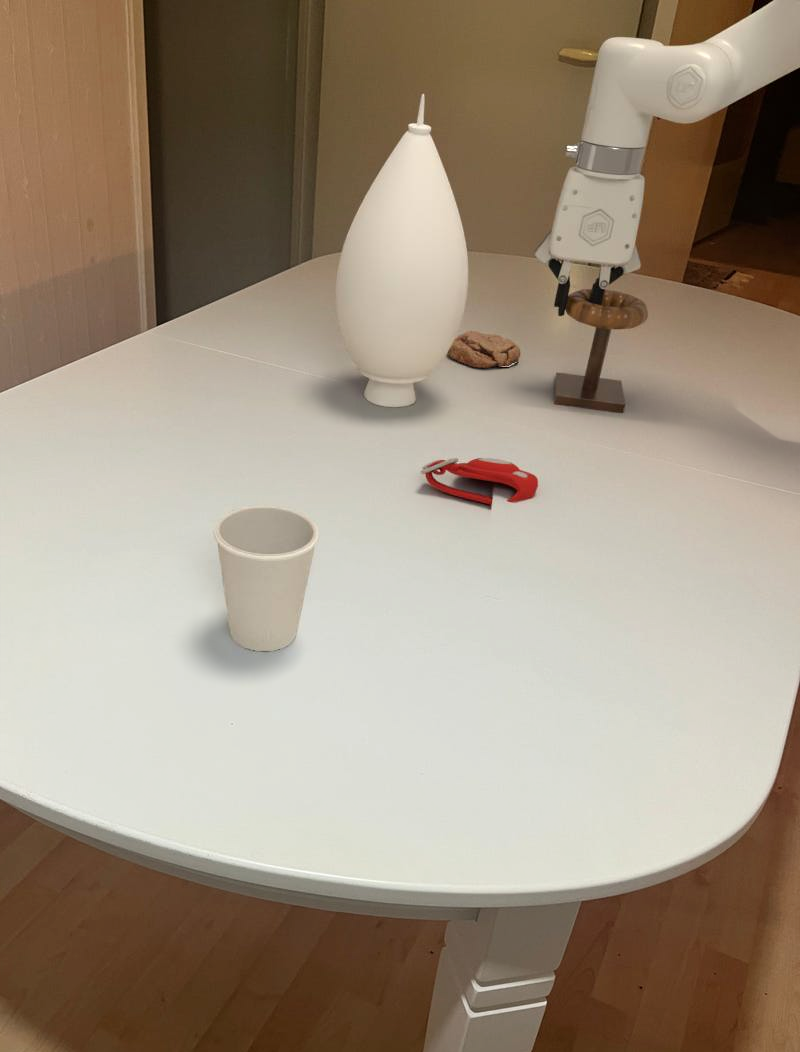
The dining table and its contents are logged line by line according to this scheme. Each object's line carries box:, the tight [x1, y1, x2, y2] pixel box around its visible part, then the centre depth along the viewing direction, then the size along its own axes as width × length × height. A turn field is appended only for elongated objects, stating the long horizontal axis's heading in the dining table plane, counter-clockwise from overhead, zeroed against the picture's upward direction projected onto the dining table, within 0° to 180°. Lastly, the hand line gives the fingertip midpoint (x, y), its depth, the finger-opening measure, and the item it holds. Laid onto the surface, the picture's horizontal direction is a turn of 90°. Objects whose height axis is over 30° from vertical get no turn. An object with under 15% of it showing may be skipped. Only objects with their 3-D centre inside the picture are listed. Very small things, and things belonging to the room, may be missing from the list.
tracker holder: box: [420, 457, 539, 505], centre depth 104 cm, size 12×4×10 cm
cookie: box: [447, 330, 522, 369], centre depth 140 cm, size 10×11×3 cm
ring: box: [565, 288, 649, 330], centre depth 124 cm, size 10×10×3 cm
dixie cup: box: [212, 504, 320, 652], centre depth 78 cm, size 8×8×10 cm
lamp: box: [335, 93, 469, 408], centre depth 116 cm, size 16×16×35 cm
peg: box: [554, 327, 626, 414], centre depth 127 cm, size 9×9×11 cm
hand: (575, 313), depth 125 cm, fingers closed on ring, 3 cm apart
